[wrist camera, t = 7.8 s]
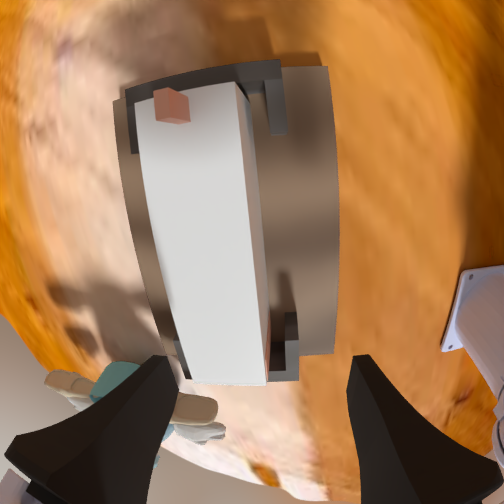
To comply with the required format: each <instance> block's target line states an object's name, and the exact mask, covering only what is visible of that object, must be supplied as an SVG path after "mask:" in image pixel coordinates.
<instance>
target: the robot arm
mask: <svg viewBox="0 0 504 504" xmlns="http://www.w3.org/2000/svg"><path fill="white" fill-rule="evenodd" d="M470 275H471V276H470ZM469 276H470V277H469ZM462 347H464V348H465V350H466V351H467V353H468V354H469V355H470V357H471V358H472V360H473V361H474V363H475V365H476V366H477V368H478V369H479V371H480V372H481V374H482V375H483V377H484V379H485V380H486V382H487V384H488V385H489V387H490V388H491V390H492V392H493V394H494V395H495V397H496V399H497V400H498V404H497V405H496V407H495V408H494V409H493V411H494V413H495V415H496V417H497V420H496V422H495V424H494V427H493V431H492V442H493V449H494V453H495V455H496V458H497V460H498V462H499V463H500V464H501V466H502V467H503V468H504V265H500V266H492V267H485V268H477V269H469V270H464V271H463V272H462V273H461V276H460V280H459V284H458V289H457V293H456V297H455V301H454V305H453V309H452V312H451V316H450V319H449V323H448V326H447V329H446V332H445V335H444V338H443V341H442V344H441V348H440V349H441V351H442V352H447V351H451V350H455V349H459V348H462ZM178 392H179V388H178V386H177V383H176V381H175V378H174V375H173V373H172V370H171V367H170V364H169V362H168V359H167V356H157V355H153V356H152V357H151V358H149V359H148V360H147V361H146V362H145V363H144V364H142V365H141V366H140V367H139V368H138V369H137V370H136V371H134V372H133V373H132V374H131V375H130V376H129V377H127V378H126V379H125V380H124V381H123V382H122V383H120V384H119V385H118V386H117V387H116V388H114V389H113V390H112V391H110V392H109V393H108V394H106V395H105V396H104V397H102V398H101V399H100V400H98V401H97V402H95V403H94V404H92V405H91V406H89V407H88V408H86V409H84V410H83V411H81V412H79V413H78V414H76V415H74V416H72V417H70V418H68V419H66V420H64V421H62V422H59V423H57V424H54V425H52V426H49V427H47V428H44V429H41V430H38V431H34V432H30V433H26V434H21V435H16V437H15V438H14V440H13V441H12V443H11V444H10V446H9V447H8V449H7V451H6V452H5V454H4V455H5V457H6V458H7V459H8V460H9V461H10V462H11V463H12V464H13V465H14V466H15V467H17V468H18V469H19V470H20V471H21V472H22V473H24V474H25V475H26V476H27V477H28V478H30V479H31V482H30V484H29V483H28V482H27V481H25V480H24V479H23V478H21V477H20V476H19V475H17V474H16V473H15V472H14V471H13V470H11V469H8V471H7V473H6V474H5V476H4V477H3V479H2V481H1V483H0V504H146V502H147V495H148V489H149V484H150V479H151V475H152V470H153V466H154V462H155V459H156V456H157V453H158V450H159V447H160V445H161V442H162V440H163V437H164V435H165V432H166V430H167V427H168V425H169V422H170V420H171V417H172V415H173V412H174V409H175V405H176V401H177V396H178ZM346 393H347V402H348V412H349V417H350V422H351V426H352V431H353V435H354V440H355V444H356V449H357V454H358V459H359V466H360V480H361V504H482V500H483V499H484V498H486V497H487V496H489V495H490V494H491V493H493V492H494V491H496V490H497V489H498V488H499V487H500V486H502V484H503V482H504V479H503V476H502V473H501V470H500V468H499V465H498V463H497V462H495V461H493V460H491V459H488V458H486V457H484V456H481V455H479V454H477V453H475V452H473V451H471V450H469V449H467V448H465V447H463V446H462V445H460V444H458V443H457V442H455V441H454V440H452V439H451V438H449V437H448V436H447V435H445V434H444V433H442V432H441V431H440V430H438V429H437V428H436V427H434V426H433V425H432V424H431V423H430V422H428V421H427V420H426V419H425V418H424V417H423V416H422V415H421V414H420V413H419V412H417V411H416V410H415V409H414V408H413V406H412V405H411V404H410V403H409V402H408V401H407V400H406V399H405V398H404V397H403V396H402V395H401V394H400V392H399V391H398V390H397V389H396V388H395V387H394V386H393V384H392V383H391V382H390V381H389V380H388V378H387V377H386V376H385V375H384V373H383V372H382V371H381V369H380V368H379V367H378V366H377V364H376V363H375V362H374V360H373V359H372V358H371V356H370V355H369V354H367V355H357V356H353V359H352V365H351V370H350V375H349V380H348V385H347V390H346ZM500 504H504V501H503V502H501V503H500Z"/></svg>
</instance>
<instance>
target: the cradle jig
mask: <svg viewBox="0 0 504 504" xmlns="http://www.w3.org/2000/svg"><path fill="white" fill-rule="evenodd" d="M228 82H235V83H236V84H237V86H238V87H239V89H240V90H241V91H242V93H243V94H244V96H245V97H246V99H247V100H248V102H249V103H250V108H251V117H252V126H253V136H254V146H255V156H256V166H257V176H258V186H259V196H260V207H261V218H262V229H263V240H264V251H265V262H266V274H267V285H268V297H269V309H270V319H271V345H270V360H269V374H268V381H267V382H278V381H299V356H307V355H321V354H334V344H335V332H336V319H337V303H338V283H339V236H340V230H339V183H338V163H337V148H336V135H335V124H334V113H333V104H332V95H331V87H330V80H329V73H328V66H294V67H281V63H280V59H277V60H264V61H254V62H245V63H237V64H230V65H224V66H217V67H212V68H206V69H201V70H196V71H191V72H187V73H182V74H178V75H174V76H170V77H166V78H162V79H158V80H155V81H151V82H148V83H145V84H141V85H138V86H135V87H132V88H129V89H126V90H125V95H126V97H124V98H121V99H118V100H115V101H113V112H114V124H115V135H116V144H117V152H118V160H119V167H120V174H121V180H122V187H123V193H124V198H125V204H126V209H127V214H128V219H129V224H130V229H131V234H132V238H133V243H134V247H135V251H136V255H137V259H138V263H139V267H140V271H141V275H142V279H143V282H144V286H145V290H146V293H147V297H148V300H149V303H150V307H151V310H152V313H153V316H154V320H155V323H156V326H157V329H158V332H159V335H160V338H161V341H162V344H163V347H164V349H165V352H166V355H178V358H179V361H180V364H181V367H182V370H183V373H184V375H185V378H186V379H192V377H191V374H190V371H189V368H188V365H187V362H186V358H185V355H184V352H183V349H182V346H181V343H180V339H179V336H178V333H177V329H176V326H175V322H174V319H173V315H172V312H171V308H170V304H169V301H168V297H167V293H166V289H165V285H164V281H163V277H162V273H161V269H160V264H159V260H158V256H157V251H156V246H155V242H154V237H153V232H152V227H151V222H150V217H149V211H148V206H147V200H146V194H145V188H144V181H143V175H142V168H141V161H140V153H139V145H138V136H137V126H136V116H135V104H134V103H137V102H140V101H144V100H147V99H151V98H154V95H153V91H155V90H159V89H163V88H167V87H169V88H171V89H173V90H175V91H177V92H179V91H184V90H188V89H193V88H198V87H204V86H209V85H215V84H221V83H228ZM192 380H193V379H192Z"/></svg>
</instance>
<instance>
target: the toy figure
mask: <svg viewBox="0 0 504 504" xmlns="http://www.w3.org/2000/svg"><path fill="white" fill-rule="evenodd" d="M139 367H140V365H138V364H135V363H131V362H125V361H116V362H112V363H110V364H109V365H108V366H107V367H106V368H105V370H104V371H103V373H102V374H101V376H100V377H99V379H98V380H97V382H96V383H95V382H94V381H92V380H89V379H87V378H85V377H83V376H81V375H80V374H79V373H76V372H69V371H65V370H53V371H51V372H50V373H49V374H48V375H47V377H46V379H45V382H44V383H45V385H46V386H47V387H48V388H50V389H52V390H53V391H55V392H58V393H60V394H62V395H64V396H66V397H67V399H68V400H69V401H70V402H71V403H72V404H74V407H75V409H77V410H79V411H83V410H84V409H86V408H88V407H89V406H91V405H92V404H94V403H95V402H97V401H98V400H100V399H101V398H102V397H104V396H105V395H106V394H108V393H109V392H110V391H112V390H113V389H114V388H116V387H117V386H118V385H119V384H120V383H122V382H123V381H124V380H125V379H126V378H127V377H129V376H130V375H131V374H132V373H133V372H134V371H136V370H137V369H138V368H139ZM217 412H218V404H217V401H215V400H214V399H212V398H209V397H203V396H198V395H191V394H184V393H181V392H178V396H177V401H176V405H175V409H174V412H173V415H172V417H171V420H170V422H169V425H168V427H167V430H166V432H165V435H164V437H163V440H162V442H163V441H164V440H165V439H167V438H168V437H169V436H170V435H171V433H172V432H173V431H174V430H175V432H176V434H177V435H181V436H182V437H184V438H185V439H188V440H190V441H192V442H194V443H196V444H199V445H205V444H206V442H207V440H223V439H224V437H225V432H226V427H225V426H224V425H223V424H221V423H219V422H213V421H214V419H215V417H216V416H217ZM159 458H160V456H159V455H158V453H157V456H156V459H155V462H154V466H153V468H155V467H157V463H158V460H159Z"/></svg>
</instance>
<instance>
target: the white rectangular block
mask: <svg viewBox="0 0 504 504" xmlns="http://www.w3.org/2000/svg"><path fill="white" fill-rule="evenodd" d="M153 95H154V98H151V99H147V100H144V101H140V102H137V103H134V104H135V116H136V126H137V136H138V145H139V153H140V161H141V168H142V175H143V181H144V188H145V194H146V200H147V206H148V211H149V217H150V222H151V227H152V232H153V237H154V242H155V246H156V251H157V256H158V260H159V264H160V269H161V273H162V277H163V281H164V285H165V289H166V293H167V297H168V301H169V304H170V308H171V312H172V315H173V319H174V322H175V326H176V329H177V333H178V336H179V339H180V343H181V346H182V349H183V352H184V355H185V358H186V362H187V365H188V368H189V371H190V374H191V377H192V379H193V382H194V383H197V384H214V385H244V386H266V385H267V381H268V374H269V360H270V345H271V319H270V309H269V297H268V285H267V274H266V262H265V251H264V240H263V229H262V218H261V207H260V196H259V186H258V176H257V166H256V156H255V146H254V136H253V126H252V117H251V108H250V103H249V102H248V100H247V99H246V97H245V96H244V94H243V93H242V91H241V90H240V89H239V87H238V86H237V84H236V83H235V82H228V83H221V84H215V85H209V86H204V87H198V88H193V89H188V90H184V91H179V92H177V91H175V90H173V89H171V88H169V87H167V88H163V89H159V90H155V91H153Z"/></svg>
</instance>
